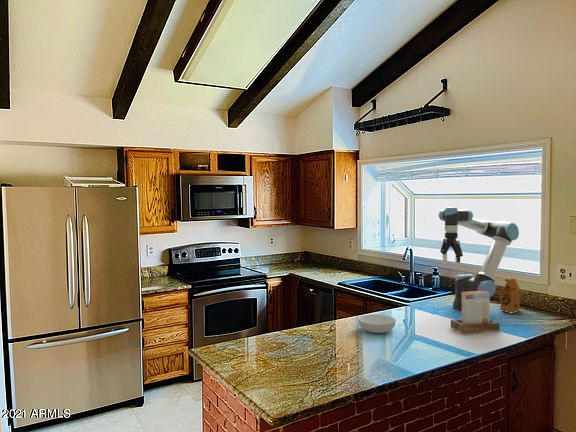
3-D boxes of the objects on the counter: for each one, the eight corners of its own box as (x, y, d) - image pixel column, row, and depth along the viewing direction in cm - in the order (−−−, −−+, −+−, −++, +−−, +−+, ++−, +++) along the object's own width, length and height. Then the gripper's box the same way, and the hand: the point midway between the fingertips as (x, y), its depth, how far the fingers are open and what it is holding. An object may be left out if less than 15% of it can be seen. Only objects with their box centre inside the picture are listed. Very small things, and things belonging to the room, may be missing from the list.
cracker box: (484, 326, 259) (484, 290, 258) (490, 329, 253) (490, 292, 252) (460, 327, 257) (461, 291, 256) (466, 330, 251) (466, 293, 250)
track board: (450, 328, 259) (450, 319, 259) (484, 325, 264) (484, 317, 263) (464, 335, 246) (464, 325, 246) (499, 332, 251) (499, 323, 251)
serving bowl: (353, 333, 251) (353, 321, 251) (364, 324, 269) (364, 312, 269) (390, 338, 241) (390, 326, 241) (399, 328, 260) (399, 316, 260)
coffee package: (497, 311, 297) (497, 278, 296) (507, 308, 304) (507, 276, 303) (512, 314, 289) (512, 280, 288) (522, 311, 296) (522, 278, 295)
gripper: (434, 230, 291) (434, 263, 292) (457, 233, 267) (457, 269, 268) (445, 230, 293) (445, 262, 294) (468, 233, 269) (468, 268, 270)
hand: (451, 265), depth 281 cm, fingers open, 13 cm apart
